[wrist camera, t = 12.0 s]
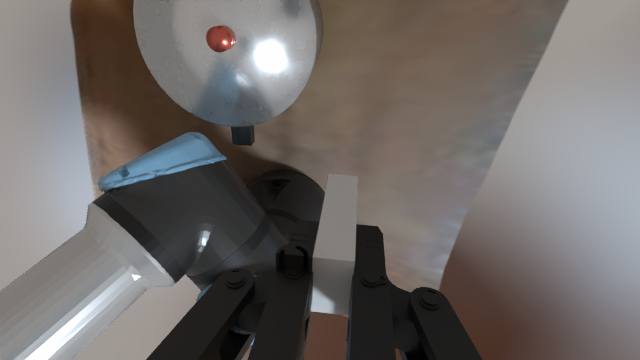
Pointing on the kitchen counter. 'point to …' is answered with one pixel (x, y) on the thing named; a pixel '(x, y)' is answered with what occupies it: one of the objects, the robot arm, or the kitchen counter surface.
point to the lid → (229, 54)
